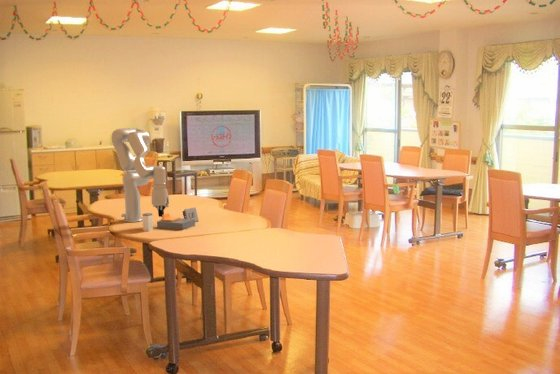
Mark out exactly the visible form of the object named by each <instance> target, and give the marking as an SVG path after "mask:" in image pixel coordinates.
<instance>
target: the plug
mask: <svg viewBox="0 0 560 374" xmlns="http://www.w3.org/2000/svg"><path fill="white" fill-rule="evenodd" d="M142 218H143V221H142V230H143V231H144V232H151V231H153V230H154V229H153V227H154V225H153V223H154V221H153V213H152V212H151V213H150V212H146V213H142Z"/></svg>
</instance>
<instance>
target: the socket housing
mask: <svg viewBox="0 0 560 374" xmlns="http://www.w3.org/2000/svg"><path fill="white" fill-rule="evenodd" d="M179 218H180V219H178V220H175V221H161V219H160V220H157V221H156V227H157V229H164V228H166V229H167V230H176V229H179V230H178V231H184V230H187V229H190V228H192V227H195V226H196V222H195V219H184V217H183V218H181V217H179Z"/></svg>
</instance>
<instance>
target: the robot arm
mask: <svg viewBox="0 0 560 374" xmlns="http://www.w3.org/2000/svg"><path fill="white" fill-rule="evenodd" d="M110 140H111V143H112V147H113V148H114V149H115V151H116V152H115V153H116V155H117V157H118V158H117V159H118V162H119V165H120V167H121V169H122V170H123V171H126V172H125V173H124V174H123V176H122V184H123V189H124V190H123V191H124V207H125V212H124V213H121V217H122V218H123V222H126V223H137V222H138V223H139V222H143V216H142V213H141V212H142V211H141V208H142V207H141V193H140V190H139V189H138V187H140V186H146V185H148V184H149V182H150V179H152V180H153V184H152V185H151V186H152V187H153V189H152V192H151V205H152V207H154V208H156V210H157V212H158V217H159V218H162V215H164V214H165V211H164V210H165V209H166V208H169V206H170V205H169V204H170V199H169V198H170V197H169V192H168V189H167V175H166V174H167V172H166V171H167V170H166V169H167V168H166V167H165V166H159V165H148V166H147V165H146V164H147V163H146V162H145V160H144V157H146V156H147V155H148V154H149V149H148V146H147V145H148V144H149V143H150V141H151V136H150V134H149V133H148V131H146V130H143V129H139V128H137V127H135V128H134V127H131V128H130V127H129V128H128V127H127V128H125V127H124V128H117V129H115V130H113V131H112V133H111V139H110ZM126 142H128V143H129V145H130V147H131V149H132V151H133V153H134V155H133V154H132V152H131V149H130V147H129V146H128V145H127V144H126Z"/></svg>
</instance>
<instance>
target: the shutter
mask: <svg viewBox="0 0 560 374" xmlns="http://www.w3.org/2000/svg"><path fill="white" fill-rule="evenodd" d="M180 218H181V217H176V216H170V213H167V212H166V213H164V215H162V217H161V218H160V220H161V221H175V220H178V219H180Z"/></svg>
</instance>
